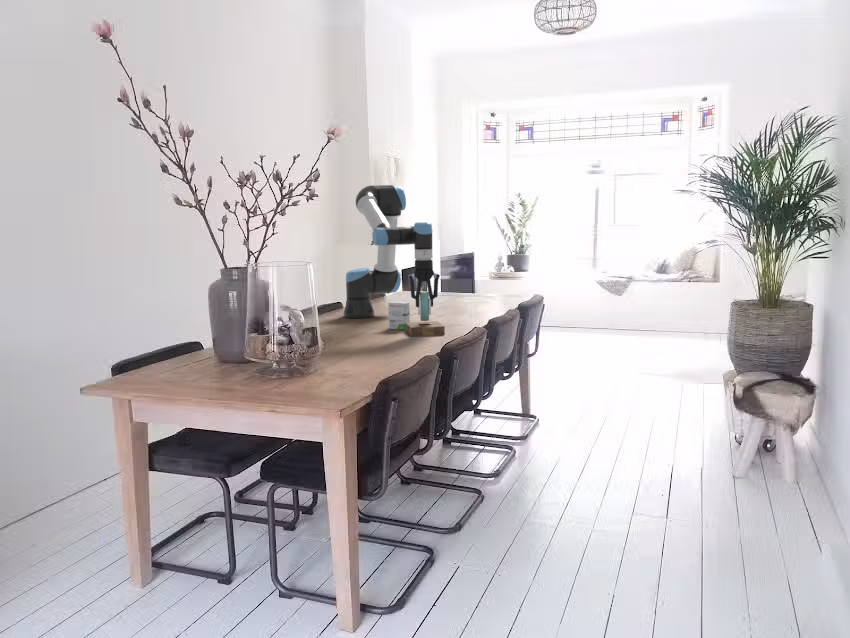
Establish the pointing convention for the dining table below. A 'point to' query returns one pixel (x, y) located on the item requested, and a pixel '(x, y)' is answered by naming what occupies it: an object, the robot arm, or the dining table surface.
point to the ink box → (398, 315)
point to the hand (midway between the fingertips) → (424, 314)
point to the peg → (424, 306)
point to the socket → (425, 328)
